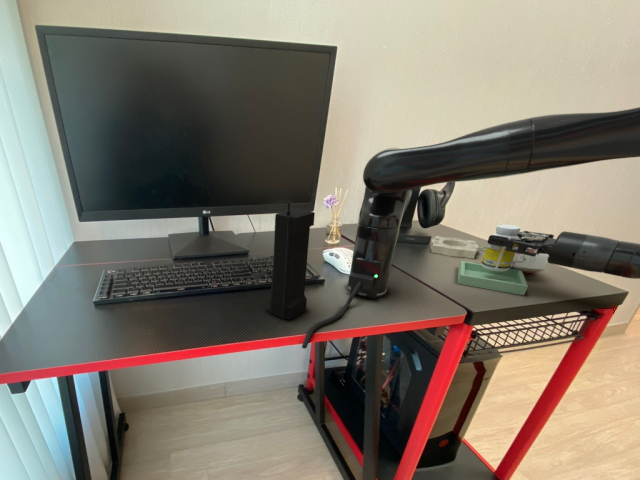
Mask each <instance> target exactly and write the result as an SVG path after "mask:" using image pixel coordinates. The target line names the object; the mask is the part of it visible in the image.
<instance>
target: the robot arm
mask: <svg viewBox="0 0 640 480" xmlns="http://www.w3.org/2000/svg"><path fill="white" fill-rule="evenodd" d="M632 158H640V106H639V107H634V108H629V109H623V110H616V111H607V112H606V111H604V112H574V113H573V112H572V113H554V114H545V115H544V114H543V115H538V116H537V115H536V116H533V117H532V116H531V117H527V118H523V119H518V120H514V121H508V122H504V123H500V124H497V125H493V126H488V127H486V128H482V129H479V130H476V131H473V132H470V133H466V134H464V135H461V136H459V137H456V138H453V139H450V140H447V141H443V142H439V143H436V144H435V143H434V144H430V145H423V146H415V147H407V148H400V147H388V148H385V149H383V150H380V151H378V152H376V153H375V154H374V155H373V156H372V157H371V158H370V159H369V160H368V161H367V163H366V164H365V166H364V169H363V174H362V178H363V179H362V181H363V184H364V186H365V189H364V194H363V200H362V203H361V207H360V210H359V214H358V221H357V227H356V233H355V237H354V238H355V239H354V244H353V252H352V259H351V264H350V272H349V275H348V282H347V290H348V291H349V294H350V295H349V297H348V299H347V300H346V303H345V304H344V306H343V307H342V309H340V311H339V312H337V313H336V314H334V315H333V316H331V317H329V318H326V319H324V320H321V321H318V322H316V323H315V324H313V325H312V326H311V327H310V328H309V329H308V330H307V331H306V334H305V336H304V339H303V342H302V345H301V348H302V349H307V348H308V346H309V343H310V340H311V337H312V334H313V332H314V331H316V330H317V329H318V328H320V327H322V326H324V325H328V324H330V323H333V322H335V321H336V320H338V319H340V318H341V317H342V316H344V314H345V313H346V312H347V310H348V308H349V307H350V306H351V303H352V301H353V299H354V298H355V296H359V297H364V298H368V299H373V300H376V299H377V298H380V297H384V296H385V295H386V294H387V290H388V284H389V281H390V280H389V279H390V276H391V275H390V274H391V269H392V265H393V260H394V255H395V252H396V246H397V242H398V238H399V233H400V228H401V224H402V220H403V216H404V212H405V207H406V203H407V198H408V194H409V191H410V190H415V189H419V188H424V187H428V186H432V185H438V184H445V183H459V182H460V183H461V182H472V181H482V180H487V179H490V180H491V179H498V178H505V177H512V176H519V175H525V174H531V173H536V172H541V171H547V170H555V169H561V168H567V167H568V168H569V167H574V166H579V165H580V166H581V165H585V164H590V163H591V164H592V163H598V162H604V161H613V160H621V159H632ZM517 236H518V237H519V238H511V237H510V238H508V237H503V236H497V235H492V234H491V235H489V237H488V239H487V244H492V245H498V246H503V247H505V250H507V251H511V252H515V253H520V254H524V255H529V256H532V257H533V256H536V254H537V255H538V254H539V253H541V254H548V255H549V257H548V260H547V264H550V265H554V266H555V265H556V266H559V267H560V266H561V267H566V268H571V269H575V270H580V271H586V272H591V273H600V274H602V273H603V274H606V275H610V276H615V277H621V278H625V279H632V280H640V243H638V242H631V241H630V242H629V241H623V240H618V239H613V238H609V237H604V236H600V235H592V234H585V233H579V232H571V231H561V232H560V233H559V234H558V236H557V237H556V238H554V237H555V234H552V233H544V232H543V233H542V232H537V231H536V232H535V231H528V230H523V231H520V232H519V233H518V234H517ZM514 244H517V246H513V245H514Z"/></svg>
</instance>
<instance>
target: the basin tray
mask: <svg viewBox="0 0 640 480" xmlns="http://www.w3.org/2000/svg"><path fill="white" fill-rule="evenodd" d="M457 284H458V285H464V286H469V287H474V288H480V289H487V290H491V291H498V292H503V293H509V294H514V295H519V296H520V295H521V296H525V294H526V292H527V289H528V288H529V285H528V283H527V280H526V278H525V274H524V272H522V270H518V269H512V268H510V269H509V270H507V271H503V272H500V271H492V270H488V269H485V268H483V267H482V266H481V263H477V262H470V261H465V260H460V263H459V266H458V270H457Z"/></svg>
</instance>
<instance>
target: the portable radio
mask: <svg viewBox="0 0 640 480" xmlns="http://www.w3.org/2000/svg"><path fill="white" fill-rule="evenodd" d="M286 204H287V210H285V211H281V212H277V213H275V215H274V216H275V217H274V238H273V239H274V240H273V241H274V242H273V258H272V259H273V261H272V270H271V283H270V284H271V287H270V298H269V307H268V308H269V313H270V314H272V315H275V316H276V317H279V318H281V319H284V320H288V321H291V320H293V319H294V318H296V317H298V316H299V315H301V314H302V313H304V312H305V311H306V310H307V303H308V302H307V301H308V299H307V297H306V295H305V290H306V289H305V288H306V277H307V265H308V255H309V243H310V242H309V241H310V230H311V227H312V226H314V225H315V215H316V213H315V212H314V211H312V210H308V209H302V208H296V207H295V208H293V209H290V206H291V201H287V202H286Z"/></svg>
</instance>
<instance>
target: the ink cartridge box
mask: <svg viewBox="0 0 640 480" xmlns="http://www.w3.org/2000/svg"><path fill="white" fill-rule="evenodd" d="M486 247H487V246H480V247H478V249H477V250H476V251H477V252H485V250H486ZM548 257H549V255H548V254H541V253H539V254H538V255H537V254H536V256H533V257H532V256H529V255H524V254H520V253H515V256H514V258H513V261H512V264H511V266H510V268H512V269H518V270H522V272H523V273H527V274H535V273H540V272H544V271H546V267H547V264H548V261H547V260H548Z"/></svg>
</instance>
